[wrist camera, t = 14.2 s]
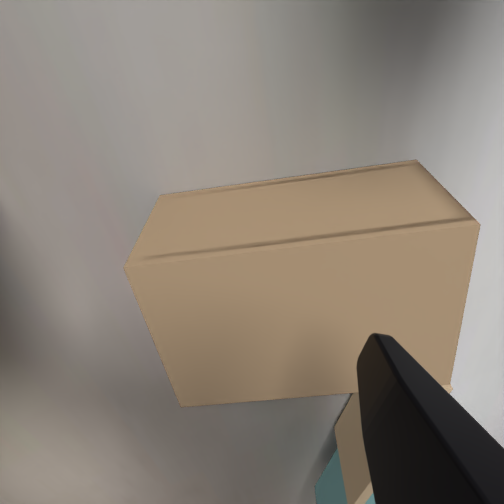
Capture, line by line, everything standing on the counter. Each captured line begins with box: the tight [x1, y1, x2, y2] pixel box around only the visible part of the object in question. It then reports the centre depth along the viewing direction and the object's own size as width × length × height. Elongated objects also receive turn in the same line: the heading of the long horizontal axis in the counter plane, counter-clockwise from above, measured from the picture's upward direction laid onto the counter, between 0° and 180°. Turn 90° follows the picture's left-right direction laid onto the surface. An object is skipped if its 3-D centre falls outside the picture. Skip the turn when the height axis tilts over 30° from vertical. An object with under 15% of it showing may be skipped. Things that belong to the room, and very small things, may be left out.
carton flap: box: [315, 384, 453, 504], centre depth 24 cm, size 18×3×6 cm, turn 168°
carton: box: [124, 160, 480, 407], centre depth 18 cm, size 12×8×6 cm, turn 99°
